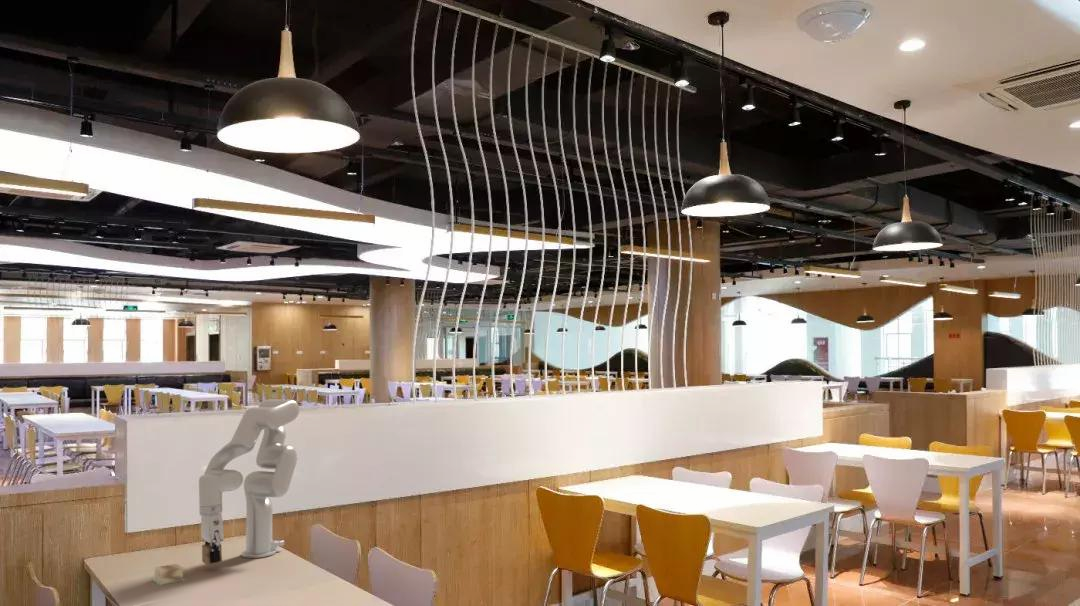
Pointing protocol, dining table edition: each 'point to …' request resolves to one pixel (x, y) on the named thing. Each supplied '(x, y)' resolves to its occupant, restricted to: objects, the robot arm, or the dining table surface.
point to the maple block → (168, 573)
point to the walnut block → (206, 554)
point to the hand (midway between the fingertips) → (212, 559)
